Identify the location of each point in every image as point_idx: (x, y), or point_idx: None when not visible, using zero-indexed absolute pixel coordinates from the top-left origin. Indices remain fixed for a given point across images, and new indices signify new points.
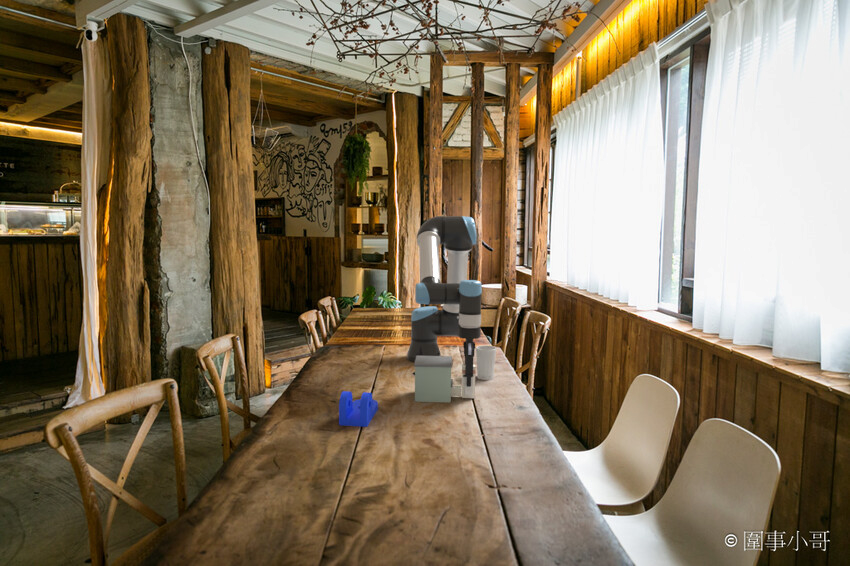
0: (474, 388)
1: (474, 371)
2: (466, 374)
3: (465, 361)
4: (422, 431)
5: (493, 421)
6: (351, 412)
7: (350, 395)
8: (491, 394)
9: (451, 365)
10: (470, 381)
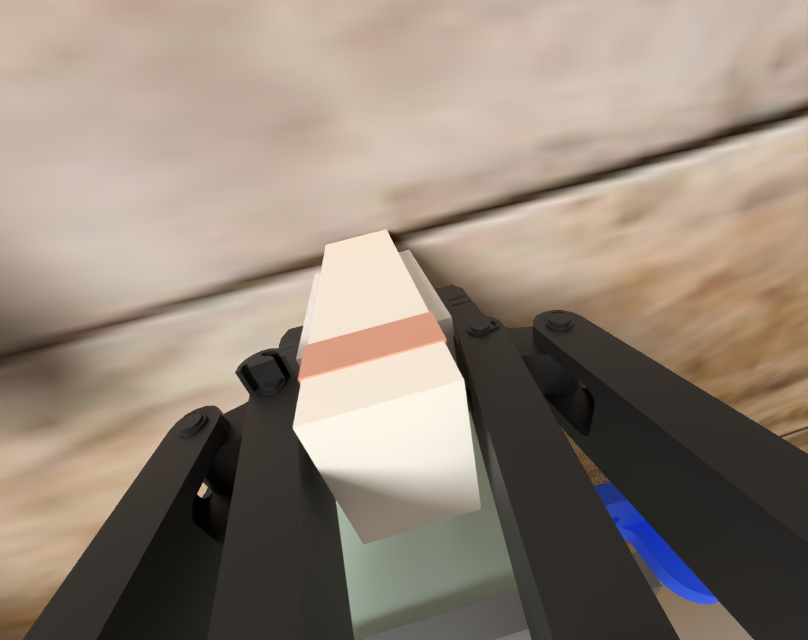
0: (397, 254)
1: (443, 340)
2: (579, 386)
3: (344, 573)
4: (768, 338)
5: (781, 15)
6: (641, 521)
7: (695, 580)
8: (206, 103)
9: (658, 584)
10: (475, 310)
